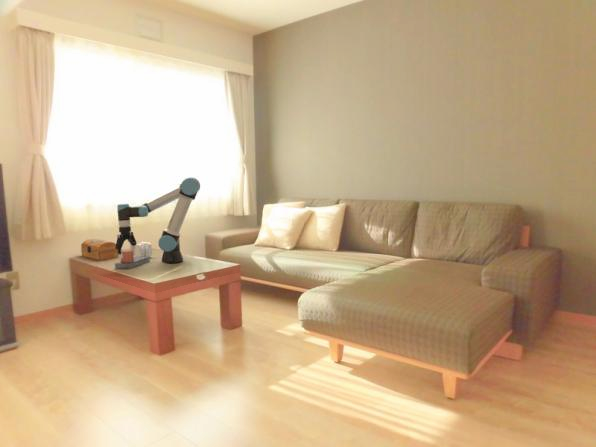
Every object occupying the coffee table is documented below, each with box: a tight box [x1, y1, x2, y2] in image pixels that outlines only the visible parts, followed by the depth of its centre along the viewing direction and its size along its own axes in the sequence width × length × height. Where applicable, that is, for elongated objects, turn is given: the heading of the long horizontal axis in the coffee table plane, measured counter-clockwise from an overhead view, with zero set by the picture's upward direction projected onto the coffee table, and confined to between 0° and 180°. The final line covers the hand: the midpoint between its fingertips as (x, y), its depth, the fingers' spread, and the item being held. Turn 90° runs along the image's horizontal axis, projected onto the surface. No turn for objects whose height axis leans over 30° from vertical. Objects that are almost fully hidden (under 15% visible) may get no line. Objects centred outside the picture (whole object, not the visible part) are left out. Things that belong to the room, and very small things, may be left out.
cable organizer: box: [129, 241, 153, 258], centre depth 318 cm, size 15×11×12 cm
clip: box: [120, 250, 134, 263], centre depth 287 cm, size 3×8×11 cm, turn 77°
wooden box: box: [80, 238, 119, 262], centre depth 323 cm, size 30×16×14 cm, turn 50°
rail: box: [114, 256, 151, 270], centre depth 293 cm, size 24×11×4 cm, turn 167°
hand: (127, 256), depth 286 cm, fingers open, 13 cm apart
